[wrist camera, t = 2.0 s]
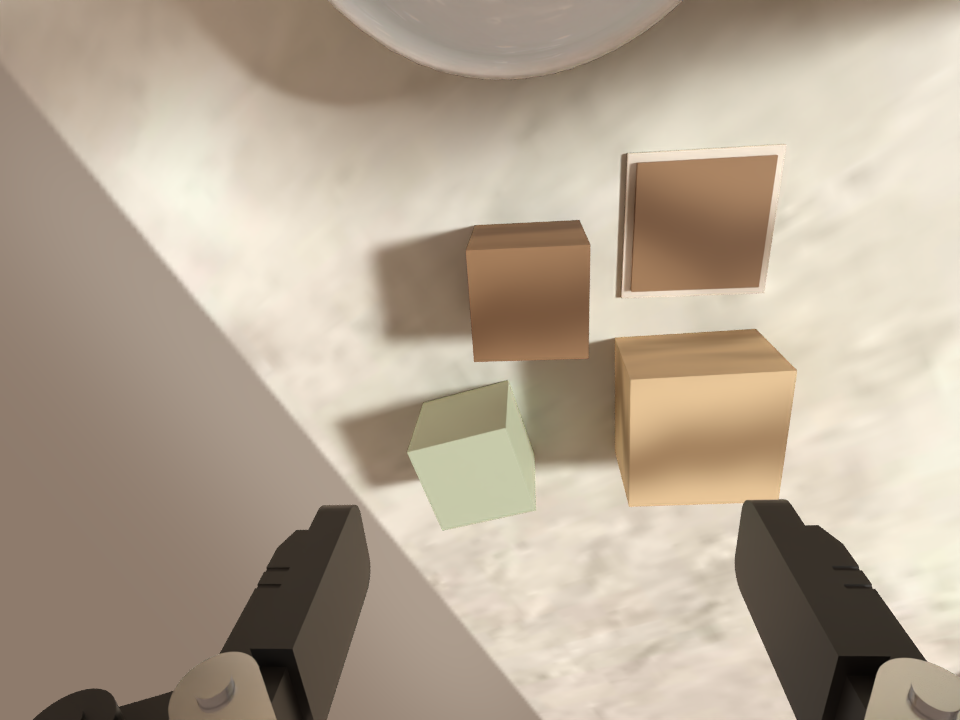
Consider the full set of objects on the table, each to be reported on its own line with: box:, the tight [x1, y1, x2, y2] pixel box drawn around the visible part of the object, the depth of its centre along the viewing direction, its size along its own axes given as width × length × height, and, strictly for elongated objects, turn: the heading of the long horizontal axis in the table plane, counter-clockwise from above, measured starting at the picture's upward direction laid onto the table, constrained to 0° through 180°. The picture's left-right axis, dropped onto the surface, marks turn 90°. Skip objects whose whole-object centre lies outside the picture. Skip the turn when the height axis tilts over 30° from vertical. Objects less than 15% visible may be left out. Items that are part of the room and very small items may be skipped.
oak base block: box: [615, 329, 797, 507], centre depth 29 cm, size 7×7×5 cm
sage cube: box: [407, 380, 536, 531], centre depth 30 cm, size 5×5×5 cm
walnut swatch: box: [621, 144, 786, 298], centre depth 27 cm, size 7×7×1 cm
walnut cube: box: [466, 220, 590, 362], centre depth 26 cm, size 5×5×5 cm
